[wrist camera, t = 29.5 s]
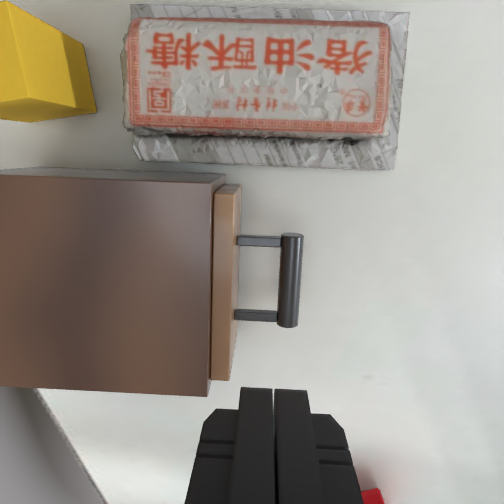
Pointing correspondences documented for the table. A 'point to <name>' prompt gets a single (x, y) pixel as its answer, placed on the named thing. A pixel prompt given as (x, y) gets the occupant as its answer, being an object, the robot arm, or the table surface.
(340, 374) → the table surface
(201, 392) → the cabinet
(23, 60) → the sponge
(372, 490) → the magnet
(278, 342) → the table surface
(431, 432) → the table surface
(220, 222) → the drawer
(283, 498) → the robot arm
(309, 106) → the packaged product
